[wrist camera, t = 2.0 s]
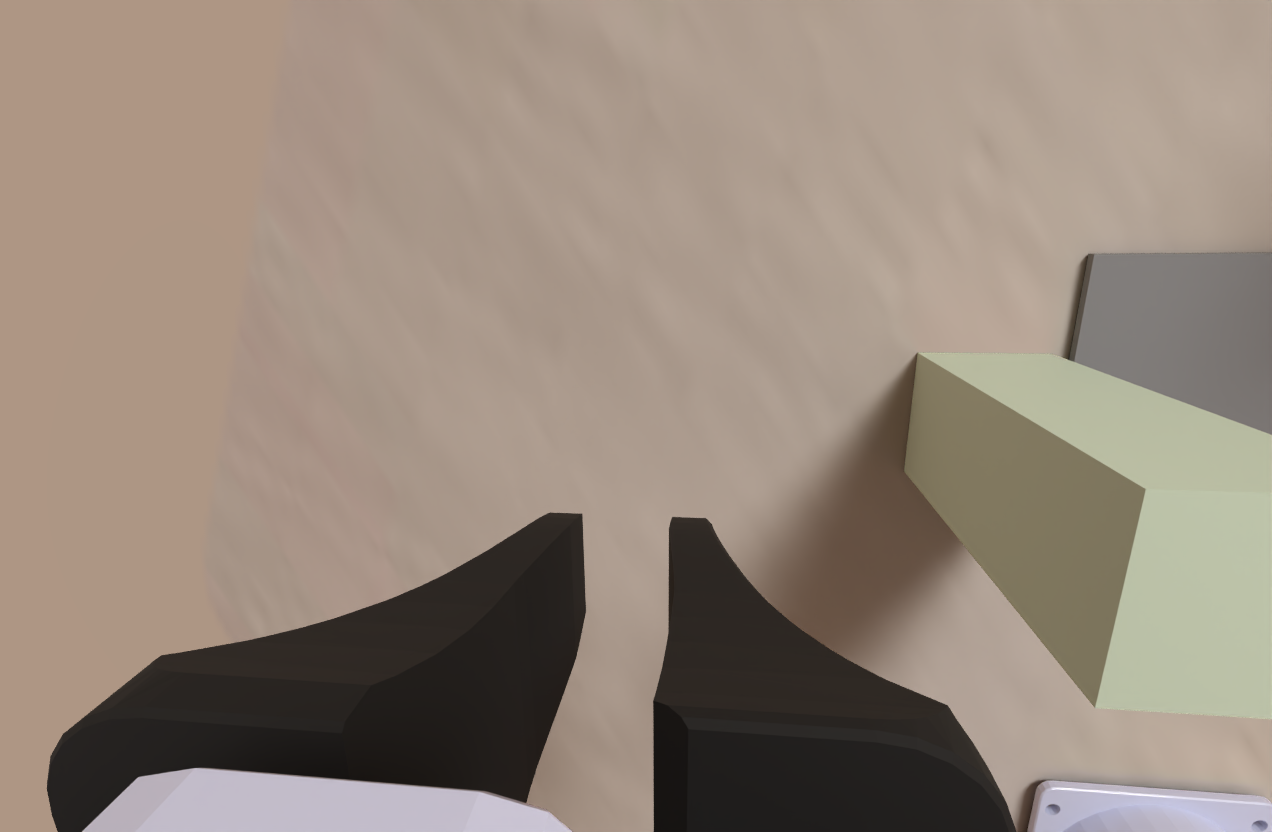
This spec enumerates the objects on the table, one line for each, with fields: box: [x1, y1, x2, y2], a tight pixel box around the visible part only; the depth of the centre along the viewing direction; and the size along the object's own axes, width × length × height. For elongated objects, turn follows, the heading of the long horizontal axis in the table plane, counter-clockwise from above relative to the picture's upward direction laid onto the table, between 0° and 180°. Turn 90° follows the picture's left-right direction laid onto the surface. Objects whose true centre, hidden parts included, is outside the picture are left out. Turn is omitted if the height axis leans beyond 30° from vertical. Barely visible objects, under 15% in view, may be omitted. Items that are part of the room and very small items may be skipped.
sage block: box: [904, 353, 1272, 719], centre depth 15 cm, size 4×4×11 cm
